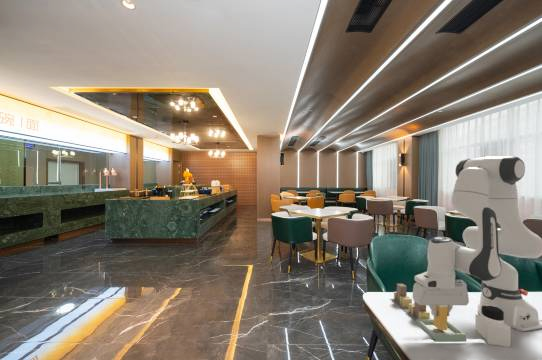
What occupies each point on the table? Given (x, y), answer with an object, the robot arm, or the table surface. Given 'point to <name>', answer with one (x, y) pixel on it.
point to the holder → (409, 304)
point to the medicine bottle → (493, 326)
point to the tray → (443, 337)
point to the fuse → (441, 317)
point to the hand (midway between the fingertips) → (440, 315)
